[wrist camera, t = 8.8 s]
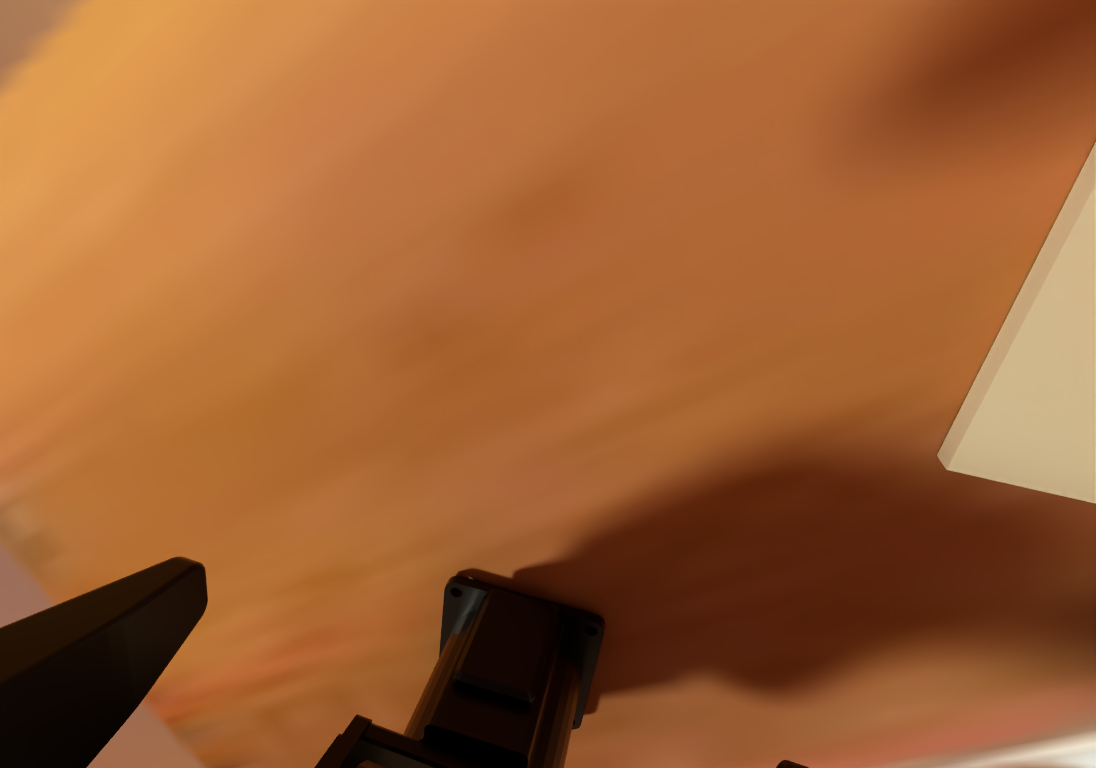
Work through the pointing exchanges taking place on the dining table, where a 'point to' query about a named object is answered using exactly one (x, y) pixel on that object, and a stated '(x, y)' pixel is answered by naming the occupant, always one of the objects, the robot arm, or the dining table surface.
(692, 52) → the dining table surface
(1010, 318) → the cream base plate
